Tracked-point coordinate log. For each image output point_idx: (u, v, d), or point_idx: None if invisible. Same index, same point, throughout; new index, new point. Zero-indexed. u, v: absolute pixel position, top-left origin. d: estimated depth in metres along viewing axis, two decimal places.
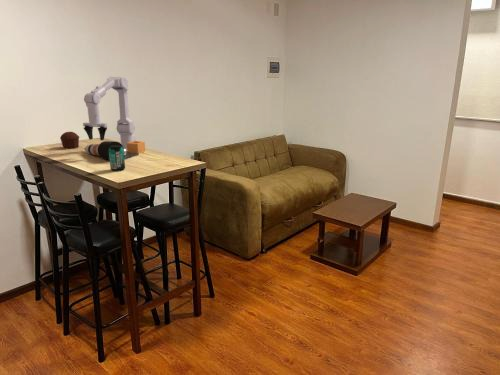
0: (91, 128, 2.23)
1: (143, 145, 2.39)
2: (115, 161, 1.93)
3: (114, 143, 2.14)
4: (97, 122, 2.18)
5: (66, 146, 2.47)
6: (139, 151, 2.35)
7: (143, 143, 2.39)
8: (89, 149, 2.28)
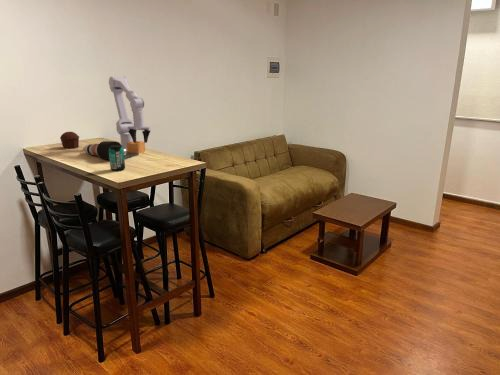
0: (135, 131, 2.37)
1: (143, 145, 2.39)
2: (115, 161, 1.93)
3: (113, 143, 2.15)
4: (141, 126, 2.32)
5: (66, 146, 2.47)
6: (139, 151, 2.35)
7: (143, 143, 2.39)
8: (88, 149, 2.28)
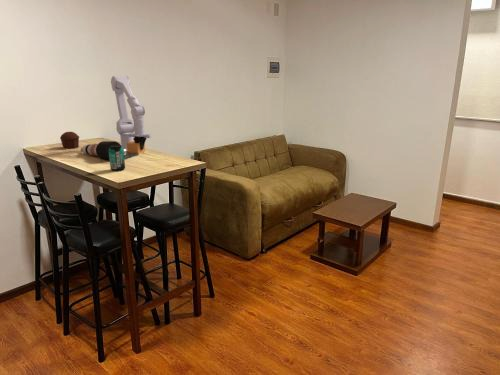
0: None
1: None
2: (115, 161, 1.93)
3: (113, 143, 2.15)
4: (142, 133, 2.33)
5: (66, 146, 2.47)
6: (139, 151, 2.35)
7: None
8: (86, 149, 2.28)
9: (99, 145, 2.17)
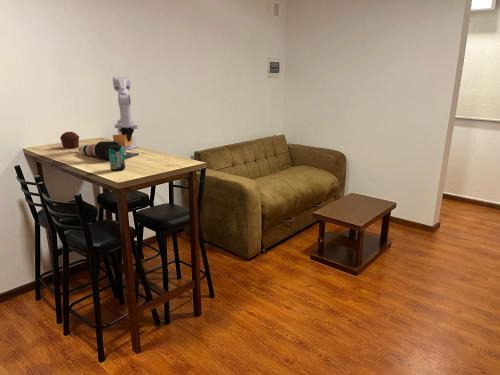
0: None
1: None
2: (115, 161, 1.93)
3: (111, 143, 2.14)
4: (129, 124, 2.20)
5: (66, 146, 2.47)
6: (126, 143, 2.22)
7: None
8: (84, 150, 2.27)
9: (98, 145, 2.16)
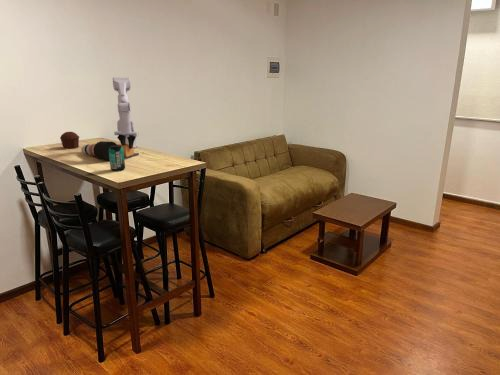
0: (124, 137, 2.25)
1: None
2: (115, 161, 1.93)
3: (109, 143, 2.14)
4: (129, 131, 2.20)
5: (66, 146, 2.47)
6: (127, 154, 2.23)
7: None
8: (85, 149, 2.28)
9: (96, 145, 2.17)
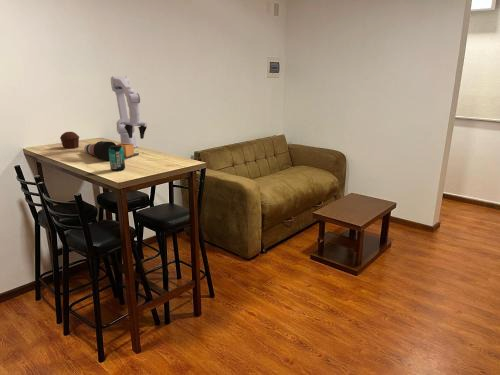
0: (131, 127, 2.32)
1: (132, 147, 2.26)
2: (115, 161, 1.93)
3: (108, 143, 2.14)
4: (138, 121, 2.27)
5: (66, 146, 2.47)
6: (127, 154, 2.23)
7: (132, 145, 2.26)
8: (87, 149, 2.29)
9: (96, 145, 2.17)
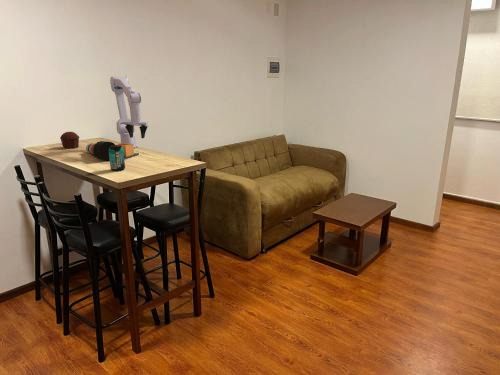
0: (132, 127, 2.33)
1: (132, 147, 2.26)
2: (115, 161, 1.93)
3: (107, 143, 2.14)
4: (139, 121, 2.28)
5: (66, 146, 2.47)
6: (127, 154, 2.23)
7: (132, 145, 2.26)
8: (88, 148, 2.30)
9: (96, 145, 2.17)
